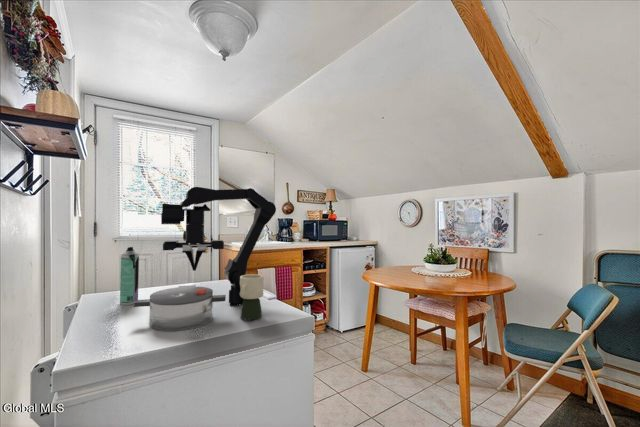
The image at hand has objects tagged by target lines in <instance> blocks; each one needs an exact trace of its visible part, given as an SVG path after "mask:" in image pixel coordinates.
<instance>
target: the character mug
mask: <svg viewBox="0 0 640 427" xmlns="http://www.w3.org/2000/svg"><path fill="white" fill-rule="evenodd" d="M240 288H241V291H240V296H241V297H242V298H244V301H243V304H242V305H241V312H240V319H242V320H248V321H249V320H257V319H260V318H262V315H263V314H262V306H261V305H262V304H261V300H260V298H262V297H263V296H264V275H262V274H255V273H251V274H250V273H249V274H245V275H242V276H240Z"/></svg>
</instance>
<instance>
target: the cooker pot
mask: <svg viewBox="0 0 640 427" xmlns="http://www.w3.org/2000/svg"><path fill="white" fill-rule="evenodd" d="M226 298H227V297H226V294H219V295H213V296H212V297H211V298H209V299H207V300H204V301H200V302H196V303H191V304H183V305H158V304H154V303H151V302H150V298H148V299H138V300H137V301H136V302H135V303H134V304H133V305H134V306H133V307H134V308H139V307H140V308H141V307H149V318H148V319H149V323H148V324H149V325H148V326H149V328H150V329H152V330H153V331H158V332H159V331H160V332H180V331H187V330H192V329H196V328H199V327H202V326H204V325H206V324H207V325H208V324H209V323H210V322H211V321H212V319H213V303H217V302H218V303H219V302H226Z"/></svg>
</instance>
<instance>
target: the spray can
mask: <svg viewBox="0 0 640 427" xmlns="http://www.w3.org/2000/svg"><path fill="white" fill-rule="evenodd" d="M139 267H140V255H139V253H138V252H137V251H135V249H134V247H133V246H128V247H127V248H126V250H125V252H123V253H121V256H120V277H119V278H120V279H119V280H120V283H119V284H120V288H119V290H120V291H119V305H121V306H130V305H134V303H135V302H136V301H137V300H139V273H140V270H139V269H140V268H139Z"/></svg>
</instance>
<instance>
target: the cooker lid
mask: <svg viewBox="0 0 640 427" xmlns="http://www.w3.org/2000/svg"><path fill="white" fill-rule="evenodd" d="M213 292H214V291H213V289H212V288H210V287H205V286H196V285H195V284H193V285H191V284H190V285H178V287H171V288H165V289H161V290H157V291H155V292H153V293H151V294H150V295H149V299H150V302H151V303H154V304H158V305H183V304H191V303H196V302H200V301H204V300H207V299H209V298H211V297H212V296H214V295H213Z"/></svg>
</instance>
